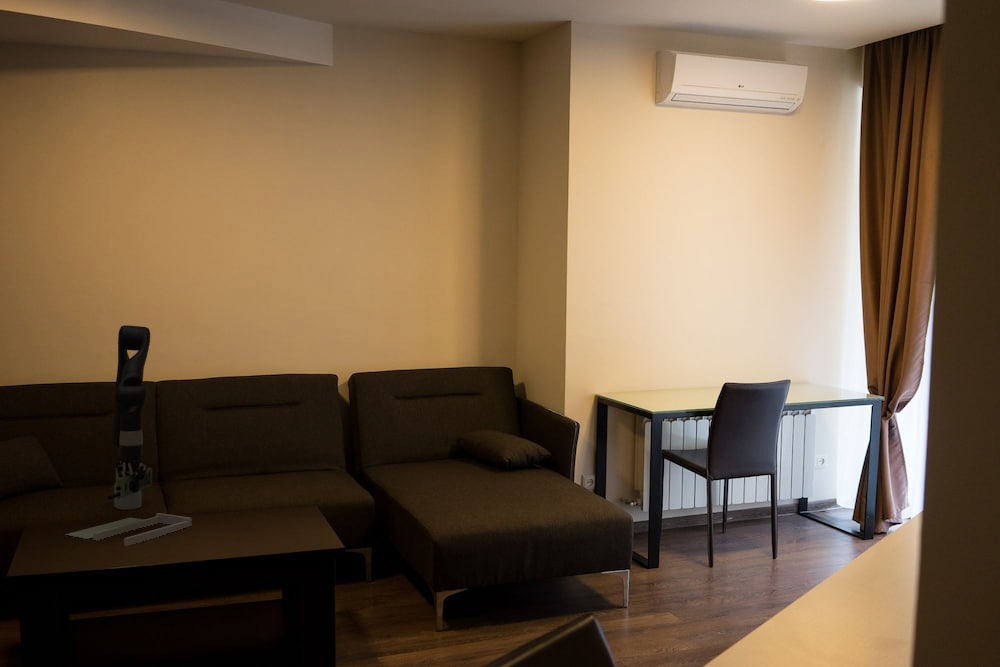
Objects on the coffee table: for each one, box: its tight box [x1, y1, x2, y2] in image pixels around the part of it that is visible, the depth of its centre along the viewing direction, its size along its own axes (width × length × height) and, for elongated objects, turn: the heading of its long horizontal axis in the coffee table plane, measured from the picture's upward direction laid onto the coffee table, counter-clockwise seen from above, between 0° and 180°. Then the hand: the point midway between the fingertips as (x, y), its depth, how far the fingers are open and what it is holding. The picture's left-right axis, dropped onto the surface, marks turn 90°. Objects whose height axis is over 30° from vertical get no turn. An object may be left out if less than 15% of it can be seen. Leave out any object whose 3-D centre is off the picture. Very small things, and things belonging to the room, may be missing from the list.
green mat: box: [64, 517, 144, 540], centre depth 324 cm, size 11×28×1 cm, turn 154°
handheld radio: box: [107, 467, 153, 500], centre depth 319 cm, size 7×3×25 cm
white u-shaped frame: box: [92, 512, 193, 547], centre depth 318 cm, size 16×28×4 cm, turn 154°
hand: (131, 491), depth 320 cm, fingers closed on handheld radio, 3 cm apart
